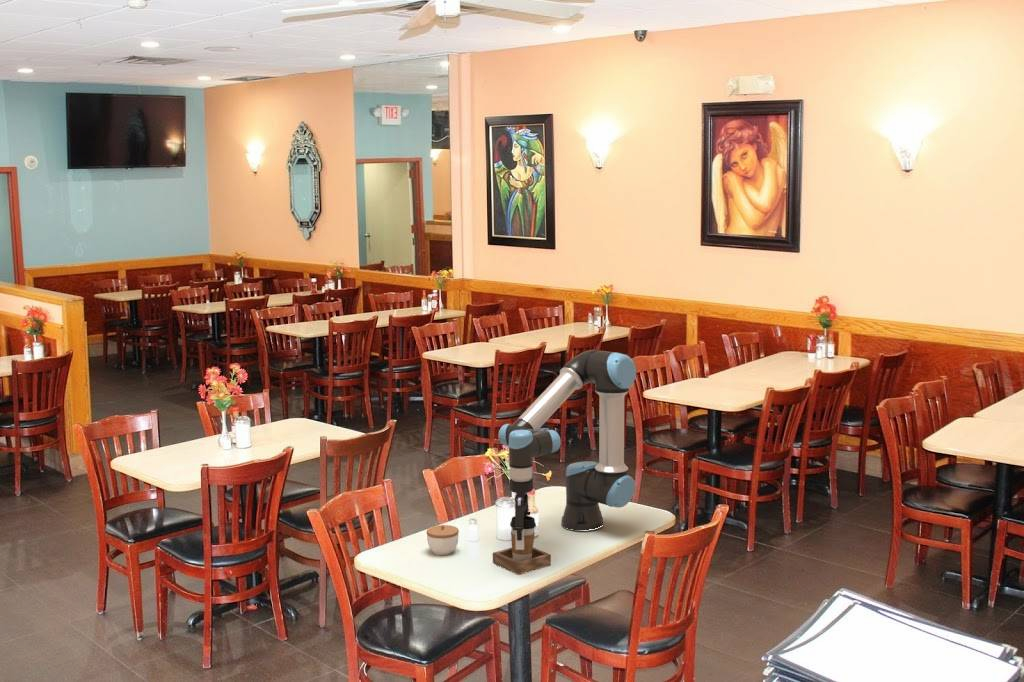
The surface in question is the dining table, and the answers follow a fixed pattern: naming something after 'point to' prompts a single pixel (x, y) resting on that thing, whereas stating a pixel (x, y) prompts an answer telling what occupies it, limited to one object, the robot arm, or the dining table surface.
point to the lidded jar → (442, 539)
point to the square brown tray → (507, 562)
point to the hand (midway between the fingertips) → (522, 542)
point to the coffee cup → (528, 539)
